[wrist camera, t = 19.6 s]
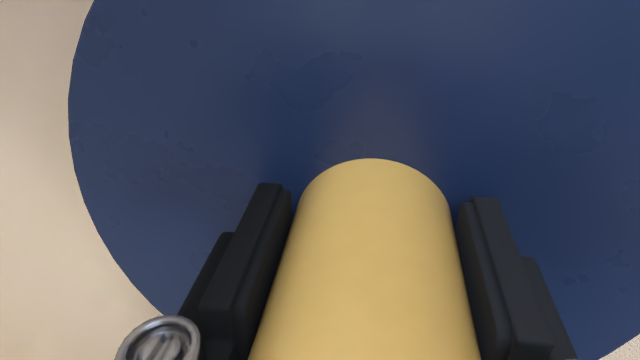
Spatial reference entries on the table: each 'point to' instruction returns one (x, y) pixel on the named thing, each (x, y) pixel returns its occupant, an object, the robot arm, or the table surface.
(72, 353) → the table surface
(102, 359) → the table surface
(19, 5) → the table surface
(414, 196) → the tin lid
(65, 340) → the table surface
